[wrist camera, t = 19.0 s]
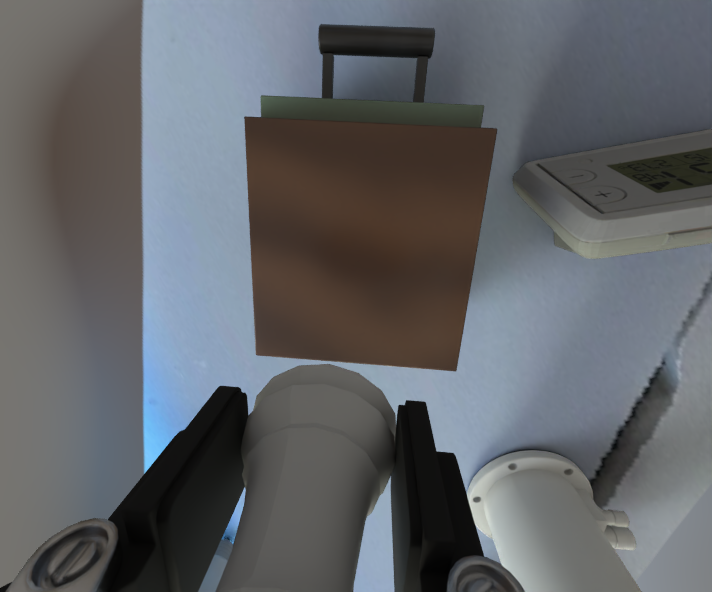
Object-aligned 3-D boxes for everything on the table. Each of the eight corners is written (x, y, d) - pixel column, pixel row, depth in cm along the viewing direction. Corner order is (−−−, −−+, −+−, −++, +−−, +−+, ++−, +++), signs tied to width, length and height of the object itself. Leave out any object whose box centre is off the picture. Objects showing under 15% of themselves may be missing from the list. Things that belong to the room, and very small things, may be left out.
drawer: (294, 54, 24) (256, -4, 17) (462, 61, 23) (500, 3, 16) (295, 285, 29) (267, 318, 22) (431, 294, 29) (449, 332, 22)
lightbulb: (248, 562, 43) (206, 684, 32) (201, 552, 43) (144, 671, 32) (253, 528, 41) (210, 647, 30) (204, 518, 41) (144, 633, 30)
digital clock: (743, 129, 24) (1001, 90, 14) (699, 251, 27) (887, 291, 17) (516, 123, 25) (607, 83, 15) (496, 243, 28) (562, 276, 18)
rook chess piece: (235, 373, 10) (-166, 901, 3) (375, 339, 10) (360, 917, 2) (285, 482, 12) (107, 1048, 4) (411, 459, 11) (486, 1086, 3)
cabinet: (290, 139, 27) (243, 116, 17) (456, 148, 26) (498, 128, 17) (291, 305, 31) (255, 355, 22) (433, 316, 30) (456, 371, 21)
